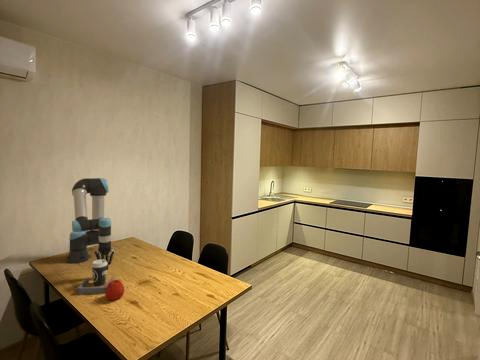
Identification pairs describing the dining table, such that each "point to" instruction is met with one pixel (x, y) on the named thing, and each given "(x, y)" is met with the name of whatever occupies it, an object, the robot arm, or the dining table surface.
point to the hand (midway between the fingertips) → (104, 274)
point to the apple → (114, 290)
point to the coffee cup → (99, 272)
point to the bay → (91, 288)
